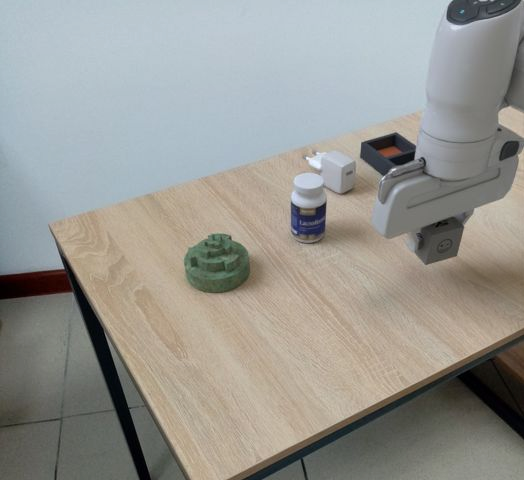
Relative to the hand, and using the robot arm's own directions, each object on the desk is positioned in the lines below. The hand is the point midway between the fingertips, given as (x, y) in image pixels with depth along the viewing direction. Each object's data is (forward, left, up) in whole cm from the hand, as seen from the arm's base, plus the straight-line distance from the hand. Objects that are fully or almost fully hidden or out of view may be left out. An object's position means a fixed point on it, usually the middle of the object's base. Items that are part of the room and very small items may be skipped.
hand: (433, 241), depth 75 cm
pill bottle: (+10, -18, -7) cm, 22 cm away
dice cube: (0, 0, -2) cm, 2 cm away
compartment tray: (-15, -28, -7) cm, 32 cm away
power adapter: (-1, -31, -7) cm, 32 cm away
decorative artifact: (+27, -16, -7) cm, 33 cm away
